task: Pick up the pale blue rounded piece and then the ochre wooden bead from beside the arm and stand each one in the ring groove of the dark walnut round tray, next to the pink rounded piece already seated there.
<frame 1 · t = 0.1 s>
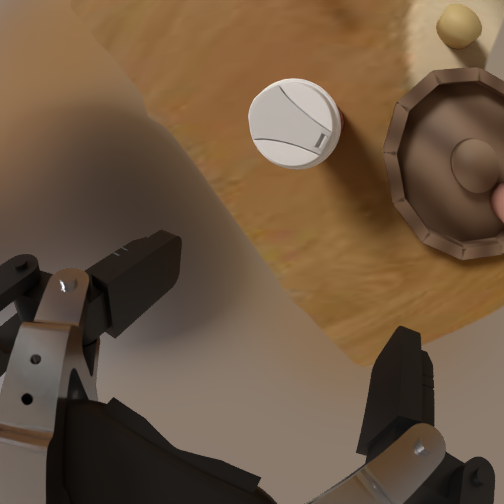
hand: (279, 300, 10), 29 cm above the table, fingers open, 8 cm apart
paper cup: (320, 120, 34), on the table
ochre bead: (453, 32, 22), on the table
pink rounded piece: (503, 199, 27), point 1 cm above the table, touching walnut tray
walnut tray: (470, 162, 28), on the table
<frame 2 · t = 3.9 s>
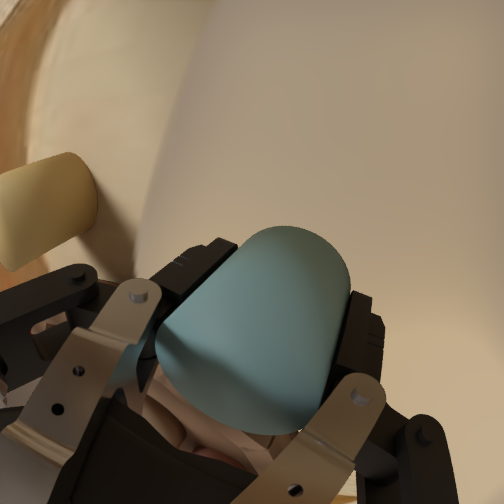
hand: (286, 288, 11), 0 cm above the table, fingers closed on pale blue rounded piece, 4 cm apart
pale blue rounded piece: (290, 283, 11), on the table, touching gripper
ochre bead: (72, 192, 14), on the table
pink rounded piece: (219, 461, 19), point 1 cm above the table, touching walnut tray
walnut tray: (159, 405, 20), on the table
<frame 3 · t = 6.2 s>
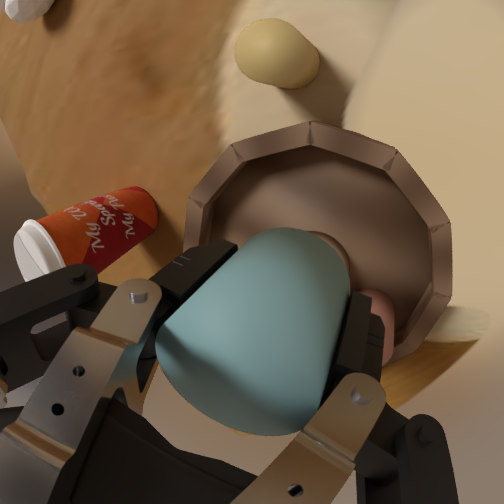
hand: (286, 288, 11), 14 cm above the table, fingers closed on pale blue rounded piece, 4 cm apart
pale blue rounded piece: (290, 284, 11), point 14 cm above the table, touching gripper
paper cup: (139, 210, 31), on the table
ochre bead: (290, 61, 19), on the table
pink rounded piece: (369, 310, 24), point 1 cm above the table, touching walnut tray
walnut tray: (316, 259, 25), on the table
when the fingers open (2 cm above the table, at t = 8.6 s): pale blue rounded piece stays where it is, resting on walnut tray.
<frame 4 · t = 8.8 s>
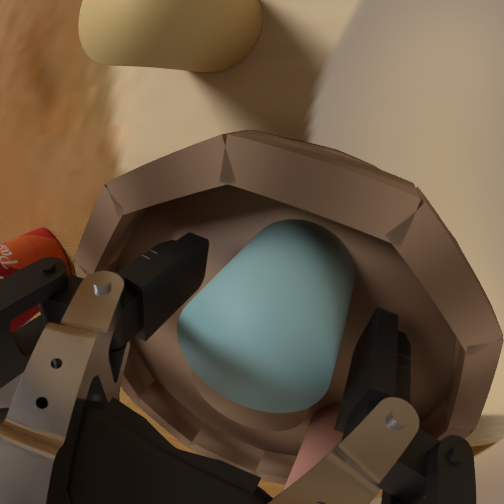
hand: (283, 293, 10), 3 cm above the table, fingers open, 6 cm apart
pale blue rounded piece: (298, 273, 12), point 1 cm above the table, touching walnut tray
paper cup: (53, 257, 22), on the table
ochre bead: (211, 24, 10), on the table
pink rounded piece: (347, 425, 15), point 1 cm above the table, touching walnut tray
walnut tray: (268, 355, 16), on the table
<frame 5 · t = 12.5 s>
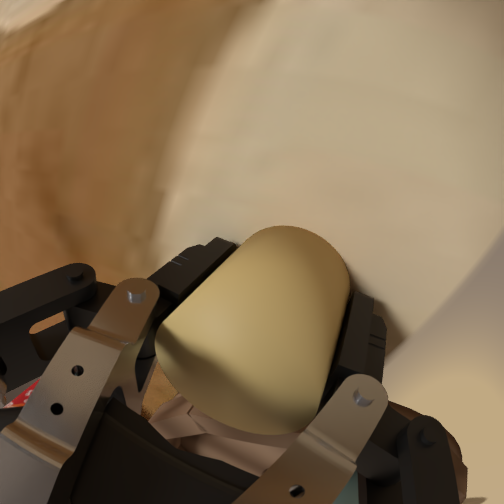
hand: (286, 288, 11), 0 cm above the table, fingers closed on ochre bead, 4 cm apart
pale blue rounded piece: (340, 457, 13), point 1 cm above the table, touching walnut tray
ochre bead: (289, 283, 11), on the table, touching gripper
walnut tray: (306, 473, 17), on the table
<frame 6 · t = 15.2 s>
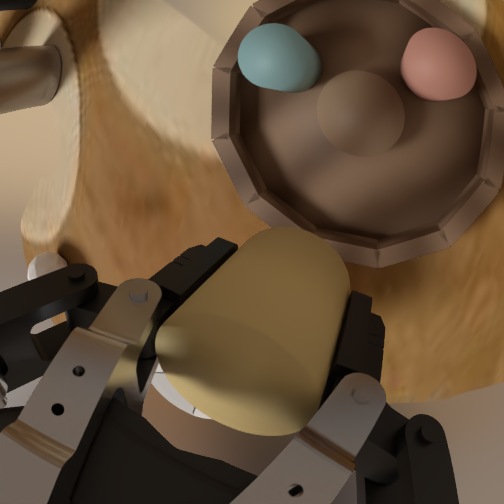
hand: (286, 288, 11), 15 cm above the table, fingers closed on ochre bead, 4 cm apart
pale blue rounded piece: (293, 65, 20), point 1 cm above the table, touching walnut tray
paper cup: (258, 286, 31), on the table
ochre bead: (290, 283, 11), point 15 cm above the table, touching gripper
pink rounded piece: (428, 73, 16), point 1 cm above the table, touching walnut tray
walnut tray: (362, 113, 20), on the table
geometric ball: (65, 264, 45), on the table
when the fingers open (2 cm above the table, at t = 17.9 s): ochre bead stays where it is, resting on walnut tray.
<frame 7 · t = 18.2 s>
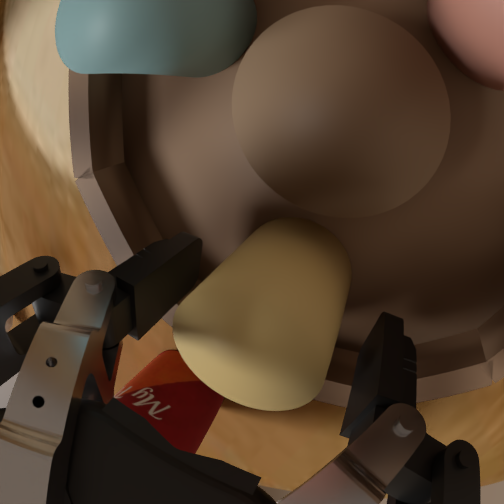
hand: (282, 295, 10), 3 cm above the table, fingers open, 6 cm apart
pale blue rounded piece: (201, 25, 9), point 1 cm above the table, touching walnut tray
paper cup: (191, 377, 20), on the table
ochre bead: (295, 271, 12), point 1 cm above the table, touching walnut tray
pink rounded piece: (487, 28, 5), point 1 cm above the table, touching walnut tray
walnut tray: (348, 110, 9), on the table
geometric ball: (8, 301, 35), on the table
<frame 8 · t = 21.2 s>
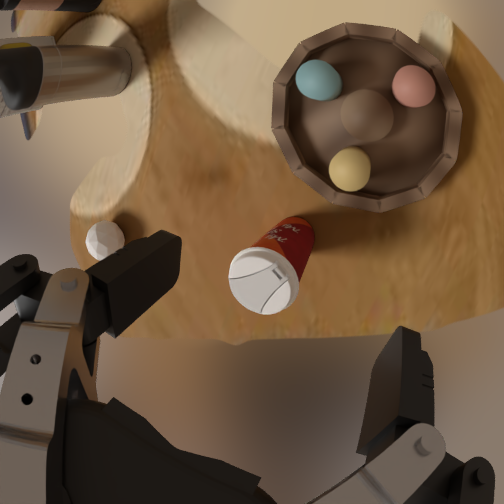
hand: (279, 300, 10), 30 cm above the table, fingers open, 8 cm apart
pale blue rounded piece: (324, 83, 31), point 1 cm above the table, touching walnut tray
supplement box: (47, 72, 48), on the table
paper cup: (295, 235, 42), on the table
ochre bead: (353, 164, 34), point 1 cm above the table, touching walnut tray
pink rounded piece: (409, 89, 27), point 1 cm above the table, touching walnut tray
walnut tray: (367, 115, 32), on the table
geometric ball: (118, 233, 57), on the table
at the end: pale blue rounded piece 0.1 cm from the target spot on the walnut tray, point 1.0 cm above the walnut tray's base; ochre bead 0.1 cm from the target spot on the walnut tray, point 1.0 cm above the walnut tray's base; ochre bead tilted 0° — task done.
